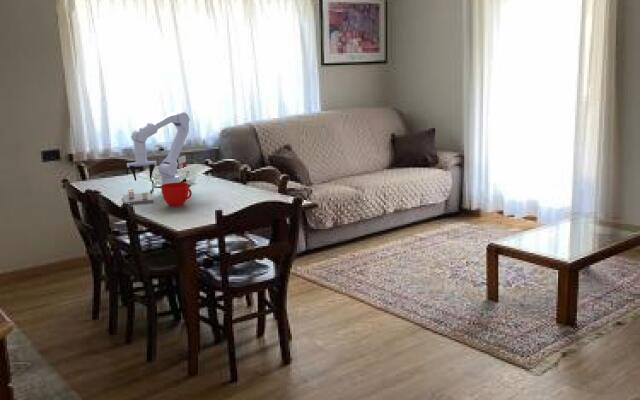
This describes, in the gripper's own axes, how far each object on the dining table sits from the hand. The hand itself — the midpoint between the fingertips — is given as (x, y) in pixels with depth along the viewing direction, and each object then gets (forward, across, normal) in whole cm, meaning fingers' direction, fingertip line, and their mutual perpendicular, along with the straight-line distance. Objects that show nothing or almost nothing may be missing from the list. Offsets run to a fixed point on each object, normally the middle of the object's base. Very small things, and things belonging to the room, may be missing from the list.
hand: (143, 179), depth 314 cm
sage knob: (+7, -1, -13) cm, 15 cm away
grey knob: (+7, -7, -1) cm, 10 cm away
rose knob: (+7, -7, -7) cm, 12 cm away
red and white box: (+10, +24, +35) cm, 44 cm away
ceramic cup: (+9, +14, -29) cm, 33 cm away
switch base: (+9, -4, -7) cm, 12 cm away
